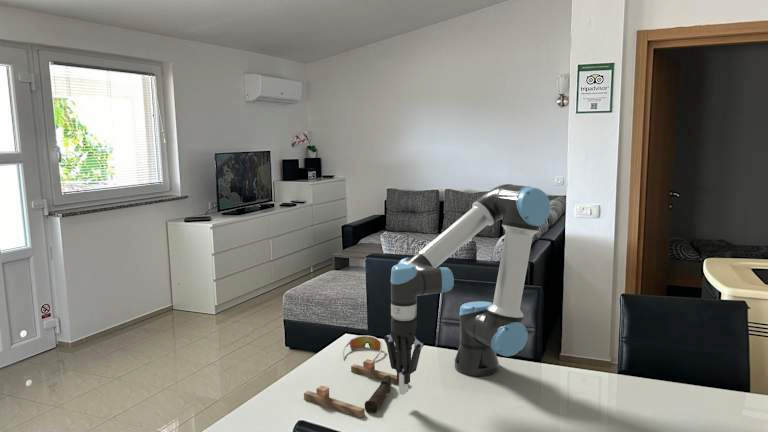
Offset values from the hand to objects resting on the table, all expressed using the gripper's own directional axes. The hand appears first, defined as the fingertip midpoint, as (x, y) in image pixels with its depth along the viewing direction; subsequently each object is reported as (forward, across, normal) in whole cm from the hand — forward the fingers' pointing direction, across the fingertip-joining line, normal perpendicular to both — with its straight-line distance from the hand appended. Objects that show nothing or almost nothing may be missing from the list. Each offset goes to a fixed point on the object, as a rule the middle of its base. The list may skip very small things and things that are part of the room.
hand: (403, 392), depth 172 cm
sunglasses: (+5, -35, +26) cm, 44 cm away
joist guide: (+5, -18, 0) cm, 18 cm away
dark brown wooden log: (+5, -9, 0) cm, 10 cm away
